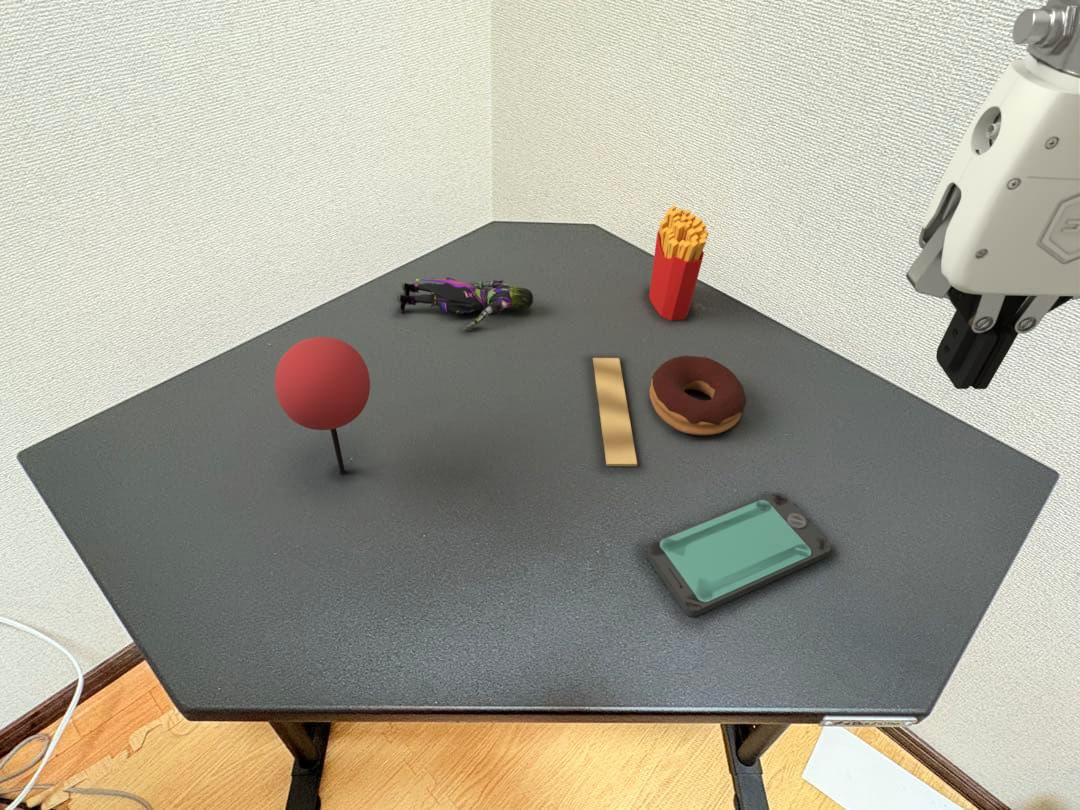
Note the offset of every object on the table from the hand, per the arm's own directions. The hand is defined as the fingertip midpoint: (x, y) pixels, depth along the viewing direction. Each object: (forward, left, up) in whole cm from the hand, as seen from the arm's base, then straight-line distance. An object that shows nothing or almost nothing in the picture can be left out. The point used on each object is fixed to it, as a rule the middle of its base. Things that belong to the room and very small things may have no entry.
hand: (959, 373), depth 43 cm
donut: (+12, -21, -25) cm, 35 cm away
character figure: (+41, -32, -25) cm, 57 cm away
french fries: (+17, -39, -25) cm, 49 cm away
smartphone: (+8, -3, -25) cm, 27 cm away
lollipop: (+45, -4, -25) cm, 51 cm away
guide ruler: (+21, -18, -25) cm, 38 cm away
